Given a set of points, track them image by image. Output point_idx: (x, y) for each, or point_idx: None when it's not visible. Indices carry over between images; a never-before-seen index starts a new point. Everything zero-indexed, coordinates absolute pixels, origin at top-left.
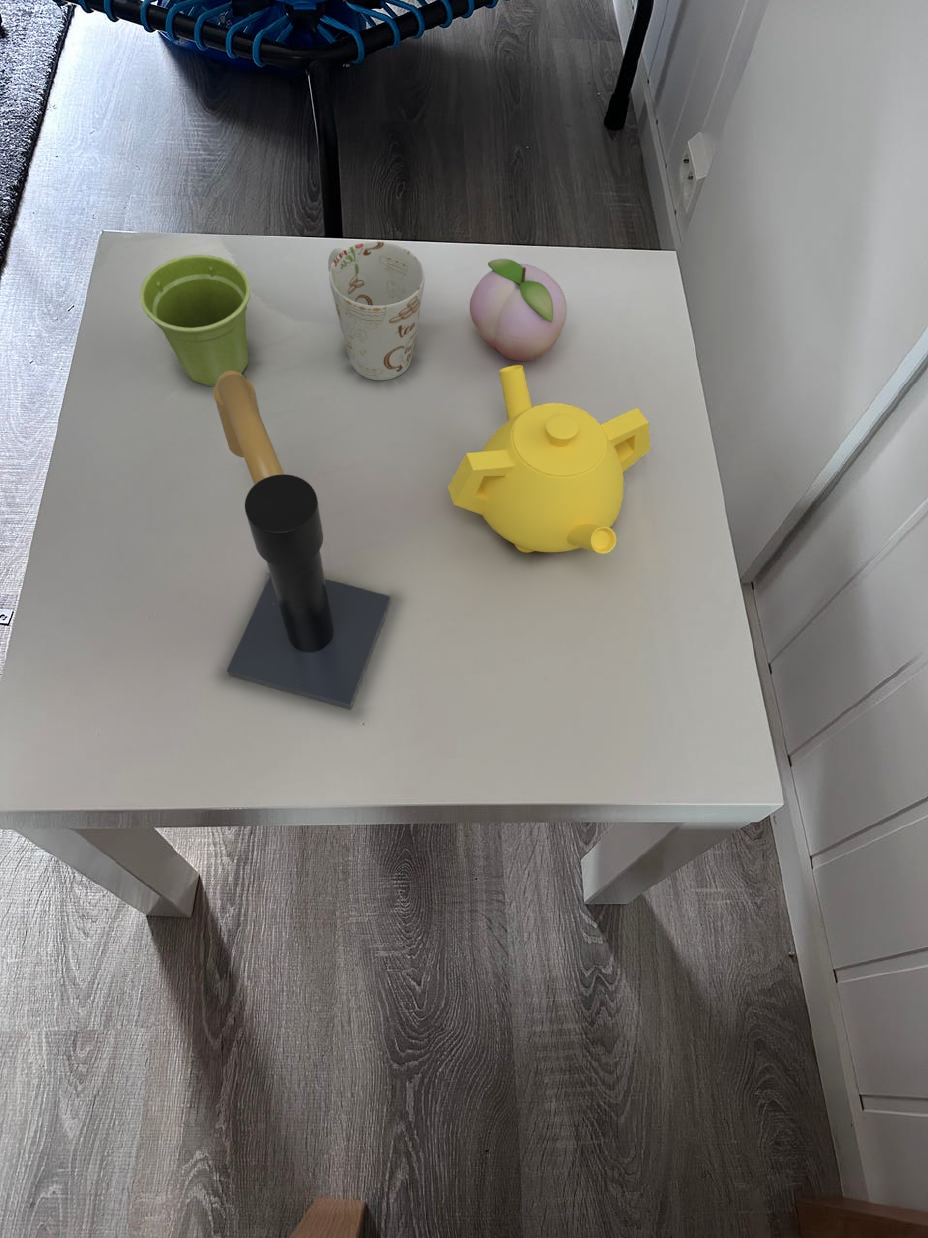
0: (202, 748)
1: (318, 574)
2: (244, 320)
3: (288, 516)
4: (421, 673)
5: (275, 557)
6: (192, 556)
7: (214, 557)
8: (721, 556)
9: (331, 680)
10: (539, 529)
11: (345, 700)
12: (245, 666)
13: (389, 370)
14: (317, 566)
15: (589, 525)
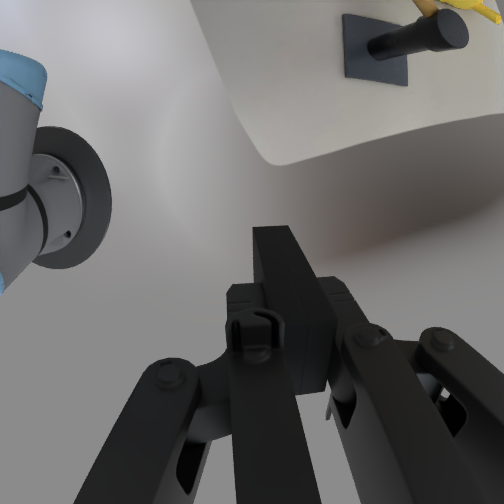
0: (347, 118)
1: None
2: None
3: (460, 37)
4: (425, 64)
5: (439, 50)
6: (292, 13)
7: (305, 11)
8: (498, 11)
9: (396, 74)
10: (466, 3)
11: (405, 84)
12: (355, 72)
13: None
14: None
15: (487, 8)
